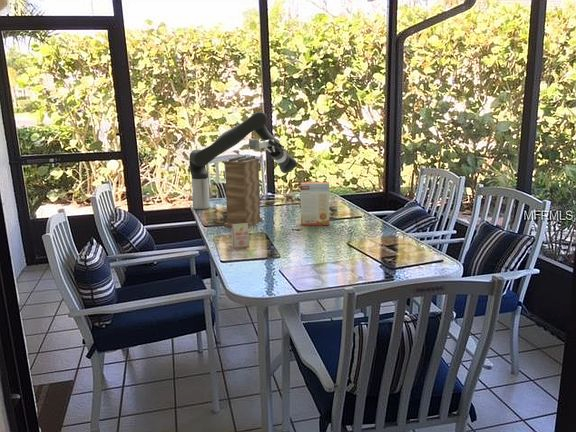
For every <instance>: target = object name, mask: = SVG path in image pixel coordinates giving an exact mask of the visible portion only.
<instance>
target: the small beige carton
mask: <svg viewBox="0 0 576 432" xmlns="http://www.w3.org/2000/svg"><path fill="white" fill-rule="evenodd" d="M230 232H231V235H230V236H231V247H232V249H239V248H238V247H244V248H250V234H249V228H248V223H243V224H232V227H231V231H230Z"/></svg>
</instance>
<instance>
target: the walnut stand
mask: <svg viewBox="0 0 576 432" xmlns="http://www.w3.org/2000/svg"><path fill="white" fill-rule="evenodd" d="M259 162H260V158H258V157H257V158H256V155H250V156H247V155H241V156H236V157H232V158H228V160H225V161H224V162H223V164H224V167H225V169H224V170H225V172H224V173H225V195H226V197H225V198H226V222H225V223H224V227H226V228H232V224H243V223H248V229H249V228H250V227H253V226H255V225H256V224H259V223H260V222H262V221H263V220H264V219H263V217H261V213H260V212H261V209H260V208H261V207H260V205H261V204H260V197H261V196H260V166H259V165H260V163H259Z"/></svg>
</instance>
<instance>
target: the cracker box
mask: <svg viewBox="0 0 576 432" xmlns="http://www.w3.org/2000/svg"><path fill="white" fill-rule="evenodd" d="M300 225H301V226H329V225H330V182H329V181H328V182H325V181H324V182H321V181H320V182H319V181H314V182H313V181H305V182H304V181H302V182H301V183H300Z"/></svg>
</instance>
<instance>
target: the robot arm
mask: <svg viewBox="0 0 576 432" xmlns="http://www.w3.org/2000/svg"><path fill="white" fill-rule="evenodd" d="M267 122H268V116H267V114H266V113H265V112H263V111H256V112H254V113H253V114H252V115H251V116H249V117H248V118H247V119H245V120H244V121H243V122H240V123H238V124H236V126H233V127H232V128H230V129H228V130H226V131H224V132H223V133H222V134H220V135H219V136H218V137H217V138H216V139H215V141H214V142H213V143H211V144H210V145H208V146H207V147H205V148H202V149H194V150H192V151H191V152H190V154H189V157H188V158H189V171H190V174H191V186H192V187H191V189H192V192H191V195H192V196H191V197H192V209H193V210H194V209H196V210H205V209H209V208H210V207H211V206H210V189H209V188H210V187H209V186H210V185H209V173H208V171H207V169H206V167H207V165H208V164H210V162H212V161H213V160H214V159H216V157H218V156H220V155H221V154H224V153H225V152H226V151H228V150H230V149H231V148H233V147H235V146H236V145H237V144H239V143H240V142H241V141H243V140H244V139H245V138H246V137H247V136H248V135H249V134H251V133H252V132H253V131H254V132H255V133H256V134H257V135H258V136H259V137H260V138H261V141H265V140H269V144H270V145H271V146H270V147H265V148H261V151H265V150H266V151H267V152H268V154H269V156H270V157H271V159H272V160H274V161H275V162H276V163H277V164H278V167H279V170H280V172H281V173H283V174H288V173H289V172H291V171H292V170H294V169H295V168H297V166H298V162H297V161H296V159H295V158H294V157H292V156H291V155H290V154H289V153H288V152H287V151H286V149H285V146H284V145H282V144H281V142H280V141H279V140H278V139H277V138H275V136H274V135H273V134H271V133H270V132H269V130H268V128H267V127H266V125H267ZM272 140H274V142H273V141H272Z"/></svg>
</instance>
